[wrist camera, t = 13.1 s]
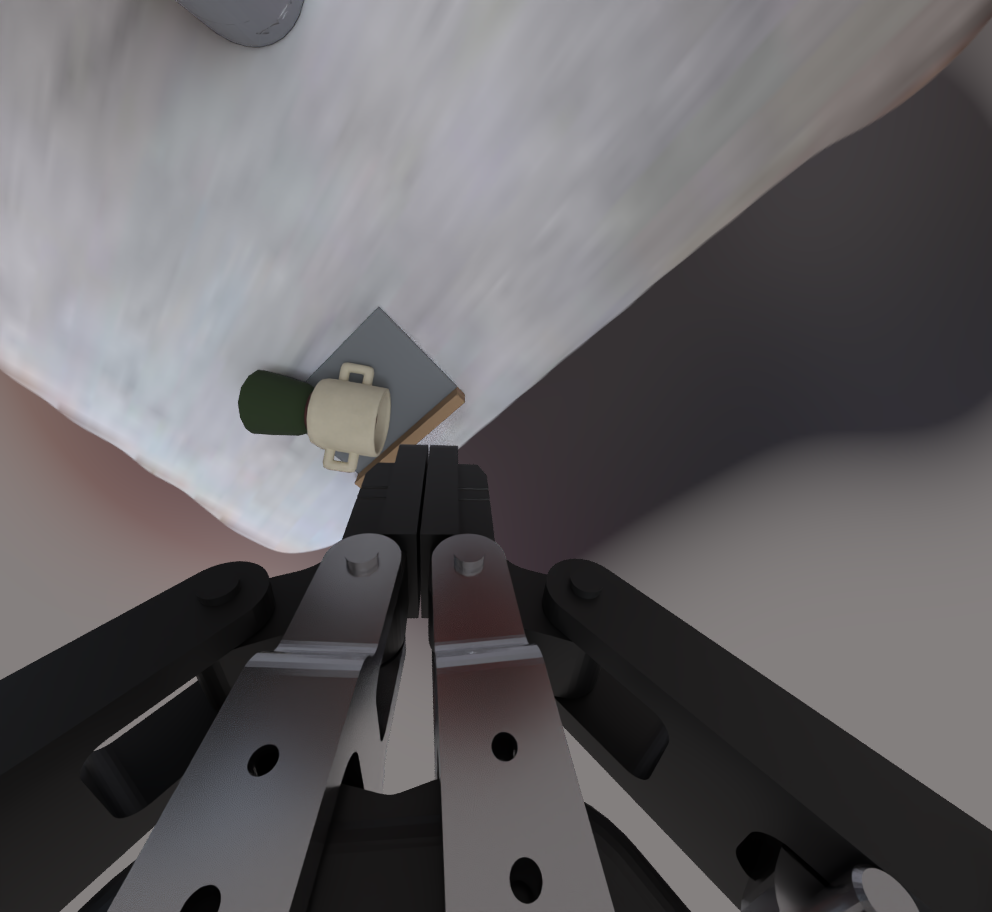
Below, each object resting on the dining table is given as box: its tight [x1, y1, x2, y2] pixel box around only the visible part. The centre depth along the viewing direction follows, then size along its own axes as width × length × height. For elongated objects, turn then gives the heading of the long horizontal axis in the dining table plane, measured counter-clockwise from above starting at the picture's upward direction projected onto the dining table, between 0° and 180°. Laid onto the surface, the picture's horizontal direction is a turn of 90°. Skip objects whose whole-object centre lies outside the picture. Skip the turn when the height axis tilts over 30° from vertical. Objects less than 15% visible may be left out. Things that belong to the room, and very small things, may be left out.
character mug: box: [238, 362, 391, 473], centre depth 40 cm, size 11×7×13 cm
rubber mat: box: [305, 307, 465, 488], centre depth 43 cm, size 12×16×2 cm
